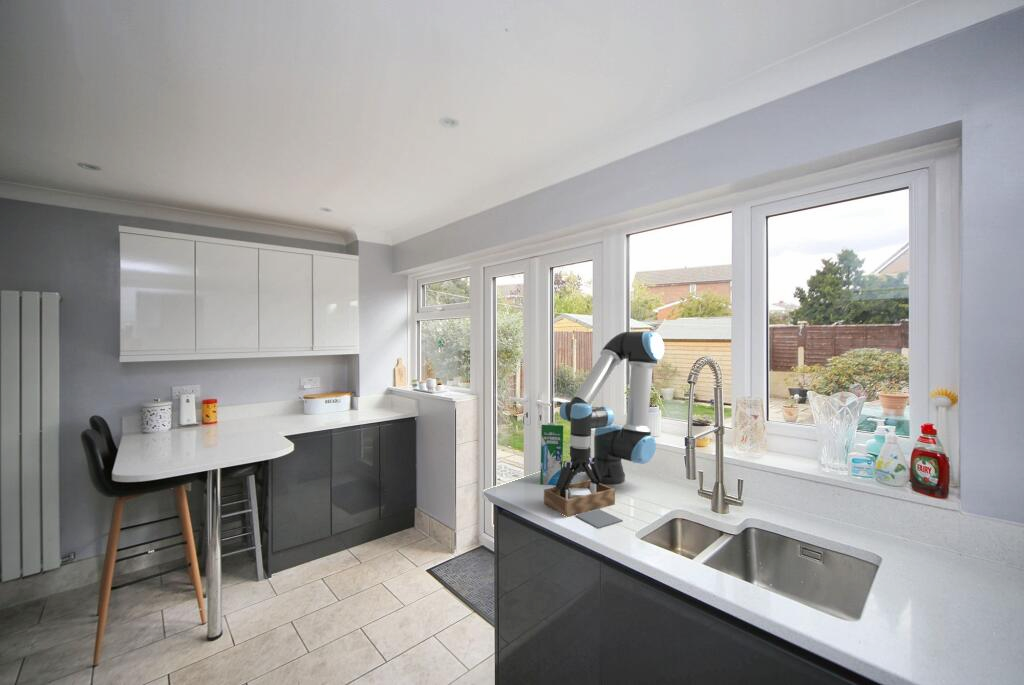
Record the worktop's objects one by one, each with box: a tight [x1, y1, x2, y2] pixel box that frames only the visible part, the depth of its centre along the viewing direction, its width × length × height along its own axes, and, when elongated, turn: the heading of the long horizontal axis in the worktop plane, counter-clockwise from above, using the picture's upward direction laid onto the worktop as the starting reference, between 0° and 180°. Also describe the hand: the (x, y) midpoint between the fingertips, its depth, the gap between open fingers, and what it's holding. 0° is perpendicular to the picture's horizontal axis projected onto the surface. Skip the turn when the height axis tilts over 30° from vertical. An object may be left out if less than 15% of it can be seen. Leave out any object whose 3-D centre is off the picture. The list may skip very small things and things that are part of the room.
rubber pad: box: [575, 508, 623, 529], centre depth 144 cm, size 11×11×1 cm
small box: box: [568, 488, 591, 499], centre depth 156 cm, size 8×8×5 cm
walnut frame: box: [543, 479, 616, 518], centre depth 157 cm, size 23×13×6 cm, turn 123°
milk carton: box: [539, 422, 564, 486], centre depth 182 cm, size 9×9×25 cm
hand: (578, 504), depth 156 cm, fingers open, 13 cm apart
